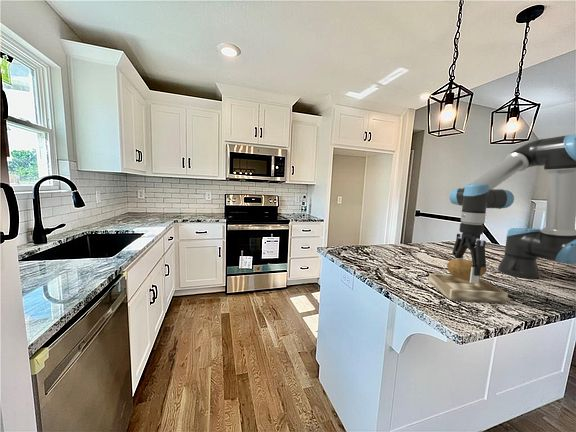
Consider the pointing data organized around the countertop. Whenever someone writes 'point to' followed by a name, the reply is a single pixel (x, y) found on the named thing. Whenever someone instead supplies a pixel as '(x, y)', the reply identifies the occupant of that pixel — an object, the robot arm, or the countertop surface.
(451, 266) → the potato
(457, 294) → the tray
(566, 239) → the robot arm
